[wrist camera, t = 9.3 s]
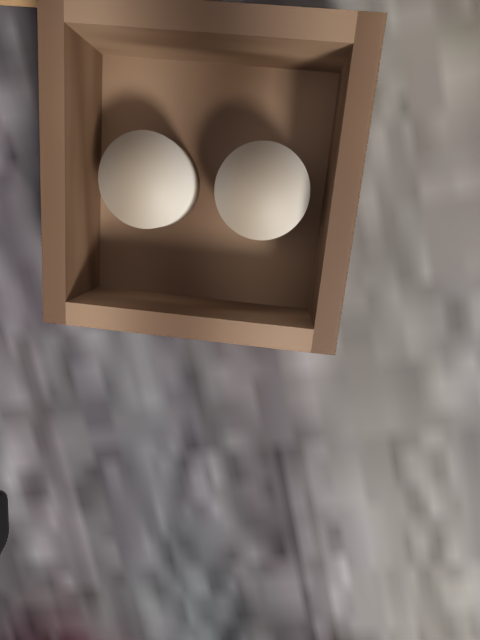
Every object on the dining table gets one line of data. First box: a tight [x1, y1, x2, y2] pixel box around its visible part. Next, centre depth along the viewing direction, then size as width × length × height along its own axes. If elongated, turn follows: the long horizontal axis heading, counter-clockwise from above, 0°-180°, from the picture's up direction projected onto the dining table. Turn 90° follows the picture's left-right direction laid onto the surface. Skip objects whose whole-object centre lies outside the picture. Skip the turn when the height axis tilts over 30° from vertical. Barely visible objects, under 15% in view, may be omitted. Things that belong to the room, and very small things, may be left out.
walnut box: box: [37, 0, 387, 355], centre depth 16 cm, size 10×10×4 cm
